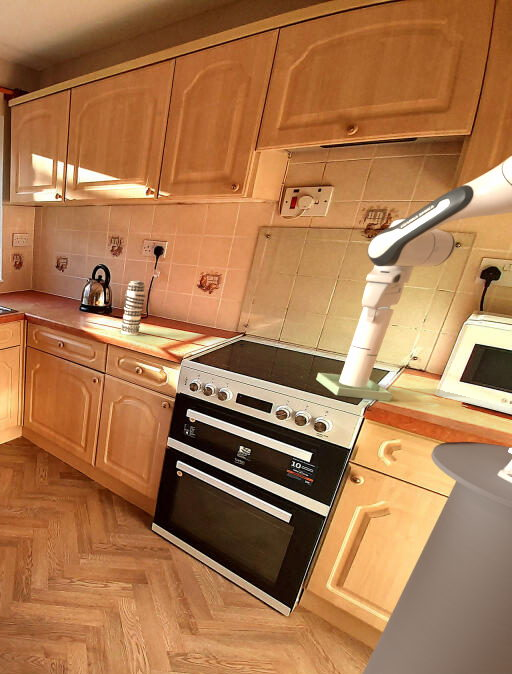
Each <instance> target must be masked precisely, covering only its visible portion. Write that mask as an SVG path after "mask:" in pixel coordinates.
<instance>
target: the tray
mask: <svg viewBox="0 0 512 674" xmlns="http://www.w3.org/2000/svg"><path fill="white" fill-rule="evenodd" d="M340 377H341V374H337V373H336V374H335V373H325V372H317V376H316V378H315V381H317V382H319V383H320V384H321V385H322V386H324V387H325V388H326V389H328V390H329V391H330V392H331V393H333V394H334V395H335V396H339V397H348V398H356V399H366V400H376V401H383V402H391V400H392V397H393V395H394V393H393V392H391V391H390V390H388V389H386V388H385V387H383V386H381V385H379V384H378V383H377V382H376V381H375V382H374V381H373V380H372V379H370V378H369V381H368V383H367V386H366V387H363V388H361V387H353V386H348V385H345V384H342V383H340V382H339V380H340Z"/></svg>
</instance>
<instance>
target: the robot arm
mask: <svg viewBox="0 0 512 674" xmlns="http://www.w3.org/2000/svg"><path fill="white" fill-rule="evenodd" d="M511 213H512V155H510V156H509V157H508V158H507V159H505V160H504V161H503V162H501V163H499V164H498V165H497V166H495V167H493V168H492V169H491V170H489V171H487V172H485V173H483V174H481V175H480V176H478V177H477V178H475V179H473V180H471V181H469V182H467V183H464V184H462V185H459V186H457V187H455V188H453V189H451V190H449V191H447V192H445V193H444V194H442V195H440V196H438V198H436V199H434V200H432V201H431V202H430V203H428V204H427V205H425V206H423V207H422V208H420V209H419V210H417V211H416V212H414V213H412V214H411V215H410V216H408V217H402V218H397V219H396V220H394V221H392V222H391V224H390V225H389V226H388V228H387V227H386V228H384V229H383V230H381V231H380V232H379V233H377V234H376V235H375V236H374V237H373V238H372V239H371V241H370V242H369V244H368V246H367V248H366V249H367V251H366V253H367V256H368V258H369V260H370V261H371V263H372V264H373V265H374V266H373V269H372V270H371V271H370V272H368V274H367V276H366V278H365V281H366V282H367V283H366V284H365V287H364V291H363V295H362V299H361V307H362V308H364V307H365V308H368V309H367V318H366V321H367V322H374V321H375V318H376V316H375V315H376V311H377V310H378V308H381V307H383V308H389V309H391V306H395V305H397V304H398V303H399V302H400V299H401V297H402V294H403V290H404V286H405V284H406V283H407V284H408V282H409V281H410V278H411V275H412V273H413V269H414V267H417V268H418V267H421V268H423V267H424V268H428V267H429V268H430V267H437V266H439V265H442V264H443V263H444V262H446V261H448V259H449V258H450V257H451V256H452V254H453V252H454V251H455V247H456V240H455V238H454V237H455V236H453V234H452V233H451V232H448V231H444V230H441V229H439V227H441V226H444V225H445V224H448V223H452V222H455V221H460V220H464V219H465V220H466V219H472V218H479V217H487V216H498V215H505V214H511ZM509 452H510V453H512V448H510V450H509ZM497 475H498V476H499V477H501V478H503V479H505V480H507V481H509V482H510V483H512V460H511V462H510V463H509V464H508V465H507V466H506V467H504V469H503V470H500V471H499V473H498V474H497Z"/></svg>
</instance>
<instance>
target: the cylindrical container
mask: <svg viewBox="0 0 512 674" xmlns="http://www.w3.org/2000/svg"><path fill="white" fill-rule="evenodd" d="M362 308H363V309H362V312H361V315H360V317H359V319H358V324H357V326H356V329H355V332H354V335H353V338H352V341H351V345H350V348H349V350H348V354H347V356H346V359H345V362H344V366H343V369H342V370H341V374H340V375H341V377H340V380H339V382H340V383H342V384H345V385H348V386H353V387H361V388H363V387H366V386H367V383H368V381H369V379H370V377H371V375H372V373H373V369H374V366H375V364H376V361H377V358H378V355H379V353H380V350H381V347H382V344H383V341H384V339H385V335H386V333H387V330H388V328H389V325H390V322H391V319H392V316H393V314H394V311H395V310H394V309H393V308H390V309H389V308H383V307H381V308H378V310H377V311H376V315H375V316H376V318H375V321H374V322H367V321H366V318H367V309H368V308H365V307H362Z"/></svg>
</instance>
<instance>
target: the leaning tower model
mask: <svg viewBox="0 0 512 674" xmlns="http://www.w3.org/2000/svg"><path fill="white" fill-rule="evenodd" d="M145 286H146V284H145V283H144V281H142V280H136V279H135V280H134V279H133V280H130V281H129V283H127V290H126V293H125V294H124V300H125V301H124V305H123V308H124V313H123V317H122V321H121V323H122V324H121V327H120V329H121V330H120V333H121V334H123V335H127V336H128V335H129V336H136V335H139V334H140V333H139V332H140V328H141V326H140V325H141V320H142V319H141V315H142V311H143V308H144V307H143V305H144V302H145V299H144V298H146V295H145V288H146V287H145Z"/></svg>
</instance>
